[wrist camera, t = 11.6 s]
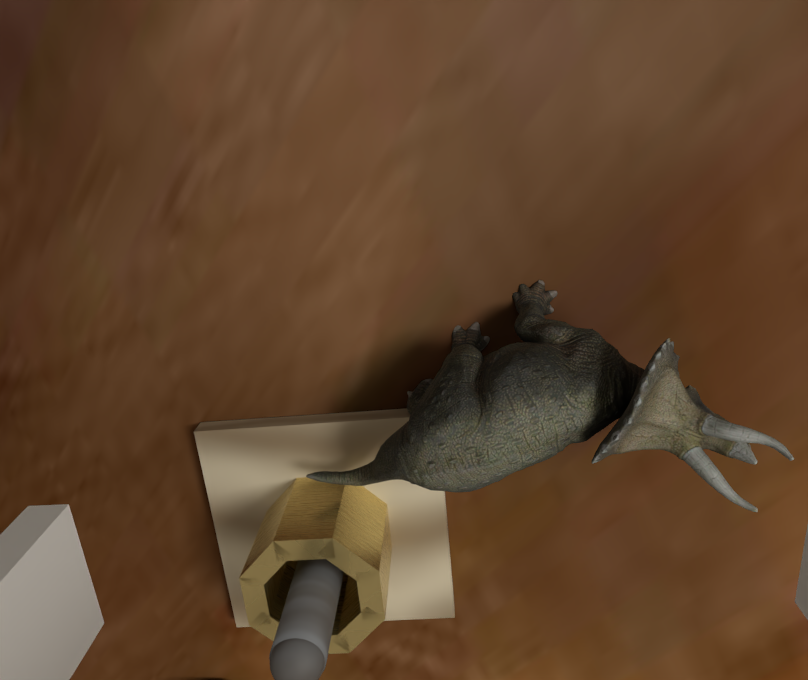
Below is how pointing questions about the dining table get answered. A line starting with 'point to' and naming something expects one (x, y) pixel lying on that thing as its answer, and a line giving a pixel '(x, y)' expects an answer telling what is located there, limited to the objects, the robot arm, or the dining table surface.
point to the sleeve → (322, 557)
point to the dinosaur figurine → (547, 409)
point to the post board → (324, 448)
